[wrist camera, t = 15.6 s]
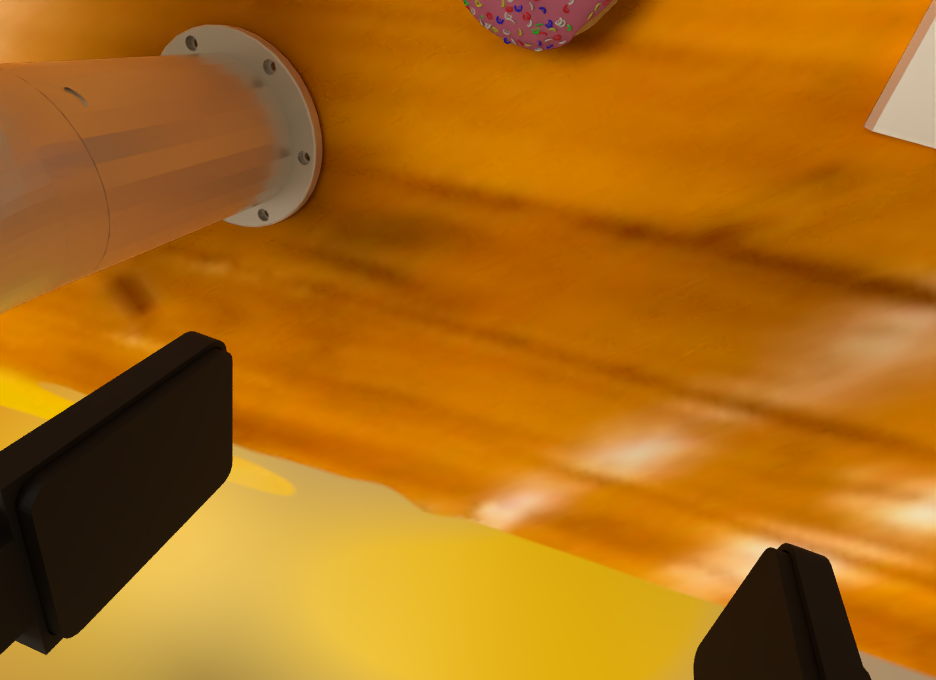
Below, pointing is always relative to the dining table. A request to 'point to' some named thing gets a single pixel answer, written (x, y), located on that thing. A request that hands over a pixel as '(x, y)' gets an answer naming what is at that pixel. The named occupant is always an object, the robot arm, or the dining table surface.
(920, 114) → the peg stand
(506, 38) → the cupcake
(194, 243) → the dining table surface
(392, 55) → the dining table surface
